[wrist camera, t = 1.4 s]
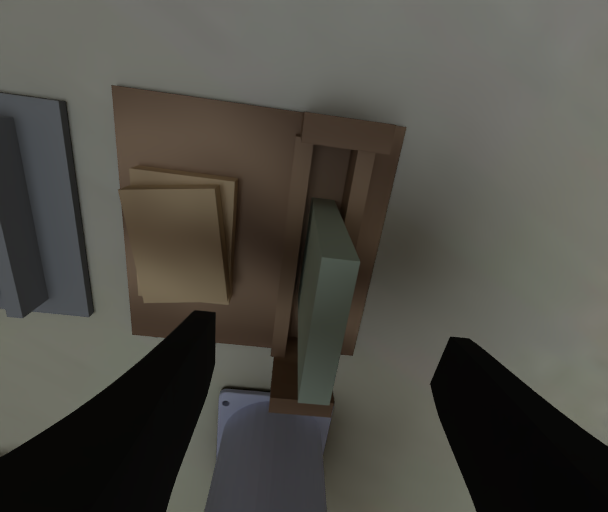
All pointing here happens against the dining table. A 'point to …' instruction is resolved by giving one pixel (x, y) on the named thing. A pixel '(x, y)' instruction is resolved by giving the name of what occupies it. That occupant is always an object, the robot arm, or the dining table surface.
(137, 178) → the offcut lower
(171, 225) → the offcut upper
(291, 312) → the rack
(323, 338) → the sheet
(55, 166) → the stand
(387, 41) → the dining table surface
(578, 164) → the dining table surface
